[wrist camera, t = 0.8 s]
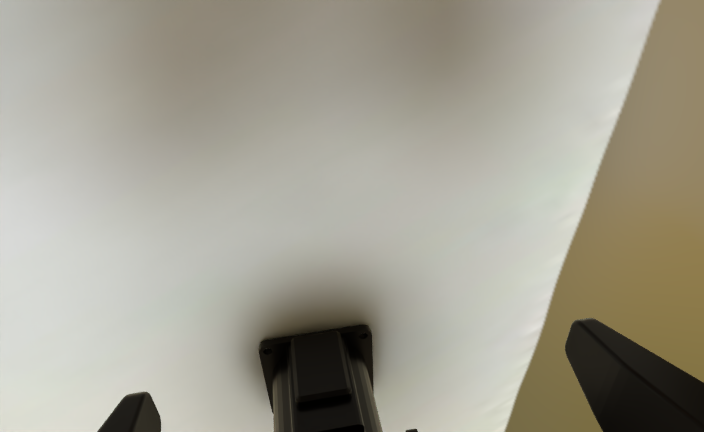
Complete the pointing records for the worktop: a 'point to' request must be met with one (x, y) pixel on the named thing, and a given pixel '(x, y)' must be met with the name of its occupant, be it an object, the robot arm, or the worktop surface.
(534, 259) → the worktop surface
